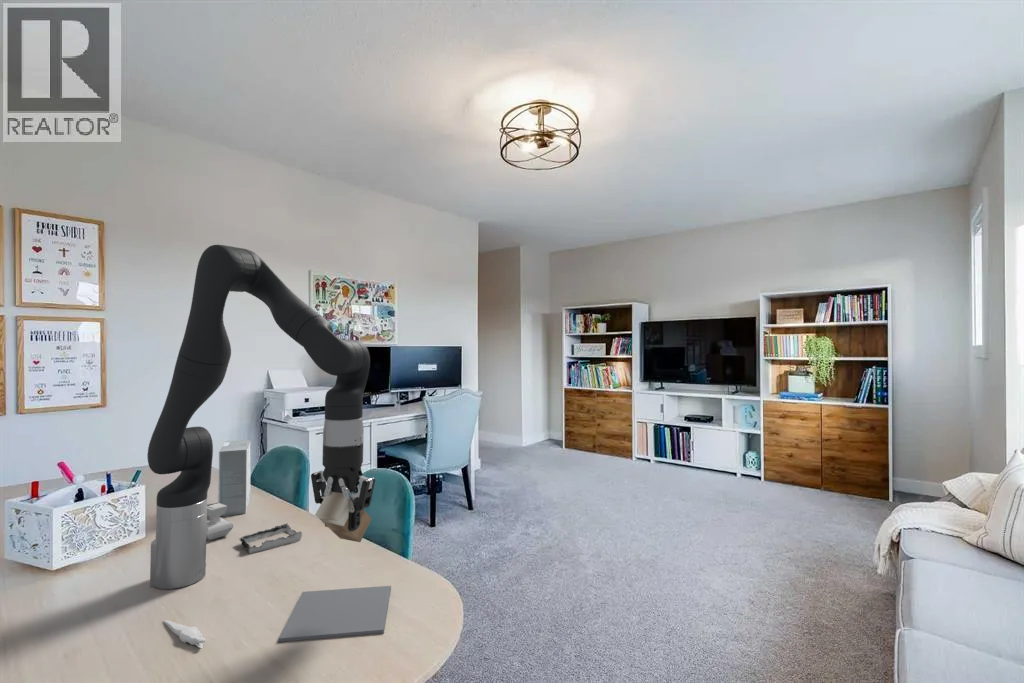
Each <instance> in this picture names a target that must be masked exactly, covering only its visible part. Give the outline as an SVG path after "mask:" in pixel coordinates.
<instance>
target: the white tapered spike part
mask: <svg viewBox="0 0 1024 683" xmlns="http://www.w3.org/2000/svg"><path fill="white" fill-rule="evenodd" d="M162 622H163V623H164V624H165V625H166V626H167V628H169V629H170V630H171V631H172V632H173V634H175V635H176V636H177V637H179V640H180V641H181V642H183V643H185V644H187V643H188V644H189V645H192V646H197V648H199V649H203V648H205V642H206V641H207V639H206V638H205V637H203V634H202V633H201V632H200V629H198V627H196V626H187V625H184V624H181V623H178V622H174V621H171V620H165V619H164V620H162Z"/></svg>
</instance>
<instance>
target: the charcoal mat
mask: <svg viewBox="0 0 1024 683" xmlns="http://www.w3.org/2000/svg"><path fill="white" fill-rule="evenodd" d="M391 591H392V585H384V586H383V585H380V586H365V587H353V588H339V589H337V588H335V589H325V590H308V591H302V592H301V594H300V596H299V598H298V599H297V601H296V604H295V605H294V607H293V609H292V610H291V611H292V612H291V614H290V615H289V617H288V619H287V621H286V623H285V625H284V627H283V628H282V631H281V633H280V635H279V637H278V640H277V641H278V643H280V642H294V641H303V640H305V641H306V640H315V639H328V638H329V639H330V638H339V637H340V638H341V637H352V636H363V635H365V636H366V635H374V634H384V633H385V629H386V628H385V627H386V623H387V621H386V620H387V616H388V611H389V610H388V609H389V602H390V597H391Z"/></svg>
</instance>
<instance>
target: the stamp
mask: <svg viewBox="0 0 1024 683" xmlns="http://www.w3.org/2000/svg"><path fill="white" fill-rule="evenodd" d="M226 510H227V506H226V505H223V504H220V503H215V504H211V505H207V517H209V520H207V530H206V540H208V541H212V540H215V539H220V538H222V537H225V536H227V535H228V534H229V533H230V532H231V531H232V530H233V529H234V523H233V522H232V521H229V520H227V519H225V518H223V517H222V516H221V515H223V514H225V511H226ZM220 516H221V517H220Z"/></svg>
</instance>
